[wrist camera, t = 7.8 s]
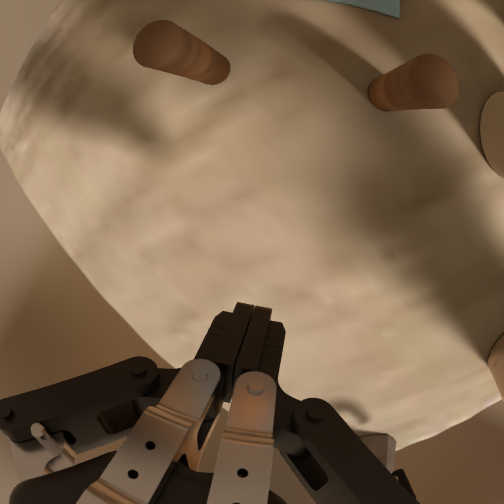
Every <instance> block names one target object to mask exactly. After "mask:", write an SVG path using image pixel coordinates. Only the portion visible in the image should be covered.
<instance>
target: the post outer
mask: <svg viewBox="0 0 504 504" xmlns="http://www.w3.org/2000/svg"><path fill="white" fill-rule="evenodd" d="M133 54H134V58H135V59H136V61H137V62H138V63H139V64H140V65H142V66H144V67H148V68H152V69H156V70H160V71H164V72H168V73H171V74H175V75H179V76H182V77H186V78H189V79H192V80H196V81H199V82H202V83H205V84H209V85H215V84H219V83H221V82H223V81H224V80H225V79H226V78H227V76H228V75H229V72H230V63H229V61H228V60H227V58H225V57H224V56H223V55H221V54H220V53H219V52H217V51H216V50H214V49H213V48H212V47H210V46H209V45H207V44H206V43H204V42H203V41H201V40H200V39H198V38H197V37H195V36H194V35H192V34H191V33H189V32H188V31H186V30H184V29H183V28H181V27H180V26H178V25H176V24H175V23H173V22H171V21H168V20H159V21H155V22H152V23H150V24H149V25H147V26H146V27H144V28H143V29H142V30H141V31H140V33H139V34H138V35H137V37H136V39H135V42H134V45H133Z"/></svg>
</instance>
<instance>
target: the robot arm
mask: <svg viewBox="0 0 504 504" xmlns="http://www.w3.org/2000/svg"><path fill="white" fill-rule="evenodd" d="M271 314H272V309H271V308H266V307H261V306H255V308H254V305H250V304H245V303H240V302H237V304H236V306H235V309H234V311H233V313H231V312H226V311H222V312H221V313H220V314H218V315H217V316H216V317H215V318H214V320H213V322H212V324H211V326H210V328H209V330H208V332H207V334H206V336H205V338H204V340H203V342H202V344H201V346H200V348H199V350H198V352H197V354H196V356H195V358H194V359H193V360H191V361H188V362H187V363H185V364H184V365H183V366H182V368H177V369H163V368H157V365H156V364H155V362H154V361H152V360H151V359H149V358H146V357H141V356H138V357H133V358H129V359H127V360H124V361H121V362H118V363H116V364H113V365H110V366H107V367H104V368H101V369H98V370H96V371H93V372H90V373H87V374H84V375H81V376H78V377H75V378H72V379H68V380H65V381H62V382H59V383H56V384H53V385H50V386H47V387H43V388H40V389H36V390H33V391H29V392H26V393H22V394H19V395H15V396H11V397H8V398H4V399H2V400H0V430H1V431H2V432H3V433H4V434H5V435H6V437H7V438H8V439H9V441H10V445H11V449H12V454H13V458H14V461H15V465H16V468H17V472H18V475H19V478H20V481H21V483H19V484H18V485H17V486H16V487H15V488H14V489H13V491H12V493H11V495H10V500H9V504H287V503H286V502H285V501H284V500H283V499H282V498H281V497H280V496H278V495H277V494H276V493H274V492H272V491H271V490H269V483H270V474H271V465H272V457H273V447H275V448H277V449H279V451H280V454H281V455H282V457H283V458H284V460H285V461H286V462H287V464H288V465H289V467H290V468H291V470H292V471H293V472H294V474H295V475H296V477H297V478H298V479H299V481H300V482H301V483H302V485H303V486H304V487H305V489H306V490H307V492H308V493H309V494H310V496H311V497H312V498H313V500H314V501H315V502H316V503H317V504H420V503H419V502H418V501H417V500H416V499H415V498H414V497H413V496H412V495H411V494H410V493H409V492H408V491H407V490H406V489H405V488H404V486H403V485H402V484H401V483H400V482H399V481H398V480H397V479H396V478H395V477H394V476H393V475H392V474H391V473H390V471H389V470H388V469H387V468H386V467H385V466H384V465H383V464H382V463H381V462H380V461H379V459H378V458H377V457H376V456H375V455H374V454H373V453H372V452H371V451H370V449H369V448H368V447H367V446H366V445H365V444H364V443H363V442H362V440H361V439H360V438H359V437H358V436H357V435H356V434H355V433H354V431H353V430H352V429H351V428H350V427H349V426H348V425H347V423H346V422H345V421H344V420H343V419H342V418H341V416H340V415H339V414H338V413H337V412H336V411H335V409H334V408H333V407H332V406H331V405H330V404H329V403H328V402H326V401H324V400H322V399H318V398H307V399H304V400H302V401H300V400H297V399H295V398H293V397H291V396H289V395H287V394H286V393H285V392H284V391H283V390H282V389H281V388H280V386H279V383H278V374H279V368H280V363H281V357H282V351H283V345H284V339H285V333H286V331H285V329H284V326H283V324H282V323H281V322H276V321H271V320H270V319H271ZM488 366H489V369H490V371H491V373H492V375H493V377H494V380H495V382H496V384H497V387H498V389H499V392H500V394H501V397H502V399H503V401H504V334H503V335H502V337H501V338H500V339H499V340H498V341H497V343H496V344H495V345H494V347H493V349H492V351H491V353H490V355H489V358H488ZM231 398H232V401H231ZM230 401H231V406H230V410H229V415H228V420H227V425H226V428H225V431H224V433H223V436H222V440H221V445H220V449H219V453H218V458H217V462H216V466H215V471H214V473H203V472H196V471H197V468H198V465H199V462H200V457H201V454H202V452H203V450H204V448H205V445H206V443H207V441H208V439H209V437H210V434H211V433H212V430H213V428H214V426H215V424H216V422H217V420H218V417H219V413H220V411H221V408H222V405H223V402H228V403H230ZM126 436H127V438H126V439H125V441H124V442H123V444H122V445H121V447H120V448H119V450H118V451H113V452H109V453H106V454H103V455H101V456H98V457H96V458H93V459H90V460H88V461H85V462H82V463H80V464H77V465H74V464H75V459H76V454H79V453H82V452H85V451H88V450H91V449H94V448H97V447H100V446H103V445H105V444H108V443H111V442H114V441H116V440H119V439H121V438H124V437H126Z"/></svg>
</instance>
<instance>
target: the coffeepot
mask: <svg viewBox="0 0 504 504" xmlns="http://www.w3.org/2000/svg"><path fill="white" fill-rule="evenodd" d="M360 439H361V440H362V442H363V443H364V444H365V445H366V446H367V447H368V448H369V449H370V451H371V452H372V453H373V454H374V455H375V456H376V457H377V458H378V459H379V461H380V462H381V463H382V464H383V465H384V466H385V467H386V468H387V469H388V470H389V471H390V473H391V474H392V475H393V476H394V477H396V476H397V477H398V481H399V482H400V483H401V484H402V485H403V486H404V488H405V489H406V490H407V491H408V492H409V493H410V494H411V495H412V496H413V497H414V498H415V499H416V496H415V494H414V492H413V490H412V488H411V486H410V483H409V481H408V479H407V477H406V475H405V472H404V470H403V469H398V470H396V471H394V472H393V467H394V457H395V447H396V441H395V440H394V439H393V438H392V437H391V436H389V435H383V434H377V435H369V436H364V437H361V438H360Z"/></svg>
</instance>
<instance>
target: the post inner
mask: <svg viewBox="0 0 504 504" xmlns="http://www.w3.org/2000/svg"><path fill="white" fill-rule="evenodd" d="M458 94H459V83H458V79H457V76H456V74H455V72H454V70H453V69H452V67H451V66H450V65H449V64H448V63H447V62H446V61H445V60H444V59H442V58H441V57H439V56H436V55H433V54H423V55H420V56H418V57H416V58H414V59H412V60H410V61H408V62H406V63H405V64H403V65H401V66H399V67H397V68H395V69H393V70H392V71H390V72H388V73H386V74H384V75H382V76H381V77H379V78H377V79H375V80H374V81H372V82H371V84H370V85H369V88H368V97H369V99H370V101H371V103H372V104H373V105H374V106H375V107H376V108H377V109H379V110H381V111H399V110H414V109H439V108H447V107H449V106H451V105H452V104H454V102H455V101H456V100H457V97H458Z"/></svg>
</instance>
